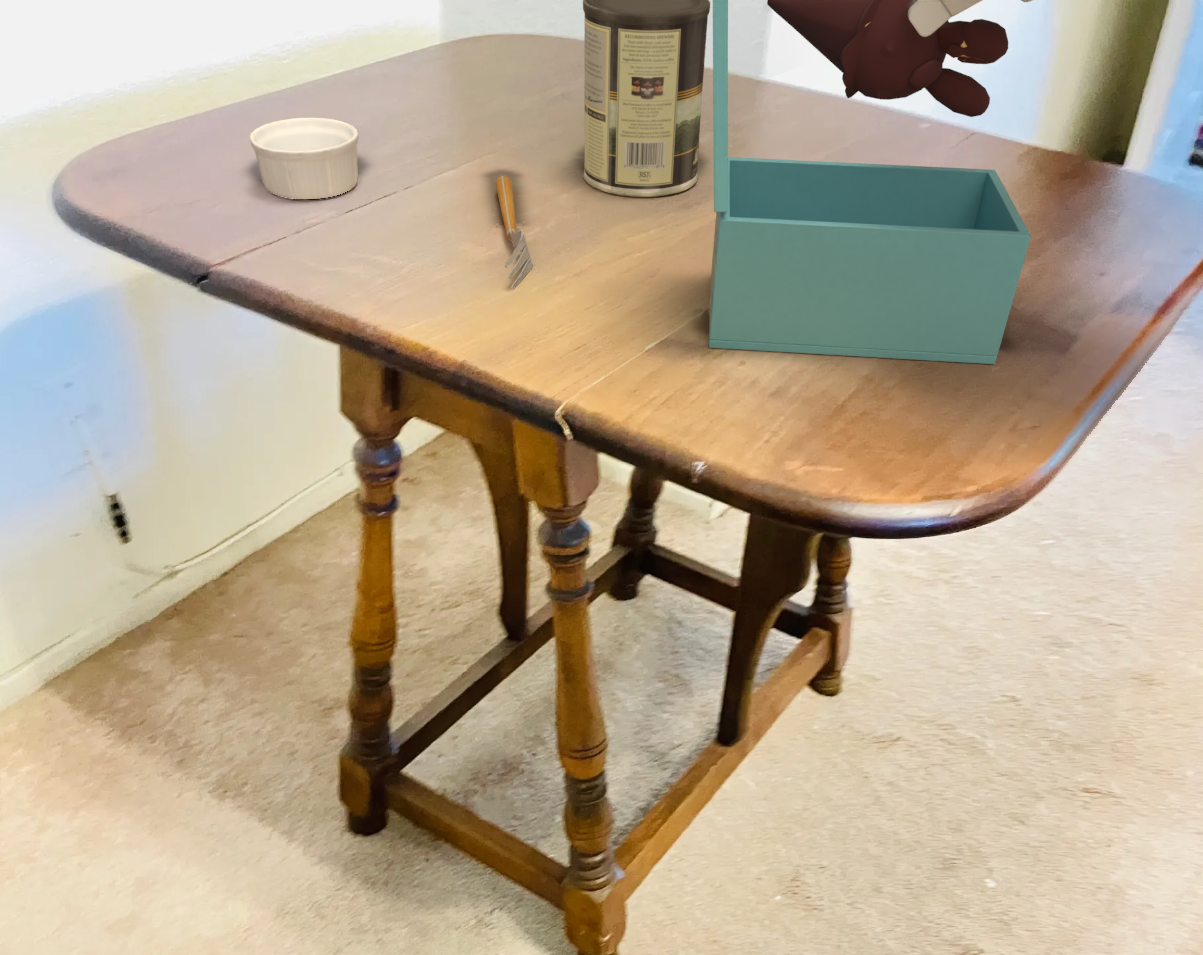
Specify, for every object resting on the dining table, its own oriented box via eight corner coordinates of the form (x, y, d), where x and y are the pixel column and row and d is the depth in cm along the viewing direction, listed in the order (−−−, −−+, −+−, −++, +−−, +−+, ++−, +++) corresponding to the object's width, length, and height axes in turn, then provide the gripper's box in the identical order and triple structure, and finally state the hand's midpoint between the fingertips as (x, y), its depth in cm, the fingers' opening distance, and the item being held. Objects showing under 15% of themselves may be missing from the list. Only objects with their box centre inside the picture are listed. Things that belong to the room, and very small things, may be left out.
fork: (487, 171, 92) (503, 261, 76) (508, 166, 92) (528, 254, 76) (496, 201, 93) (513, 294, 78) (517, 195, 93) (537, 287, 78)
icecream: (742, -21, 62) (987, 64, 58) (803, -93, 64) (1042, -16, 60) (735, 84, 68) (956, 168, 64) (791, 15, 70) (1007, 91, 66)
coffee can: (661, 152, 101) (670, -18, 92) (719, 187, 94) (735, 7, 85) (562, 167, 97) (561, -9, 88) (615, 205, 91) (620, 19, 81)
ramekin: (385, 181, 94) (379, 129, 91) (311, 212, 88) (303, 157, 85) (312, 161, 98) (304, 110, 95) (236, 189, 92) (226, 136, 89)
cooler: (965, 288, 79) (995, 169, 74) (995, 364, 70) (1031, 235, 65) (711, 275, 80) (721, 156, 75) (708, 348, 71) (719, 219, 66)
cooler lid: (728, -197, 62) (714, -196, 62) (727, -178, 53) (711, -177, 53) (727, 149, 74) (715, 149, 74) (727, 212, 65) (713, 212, 65)
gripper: (1055, -258, 62) (856, -68, 69) (1162, -243, 47) (891, 1, 54) (1109, -162, 65) (912, 12, 72) (1227, -117, 49) (961, 100, 56)
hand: (903, 8), depth 63 cm, fingers closed on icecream, 7 cm apart
